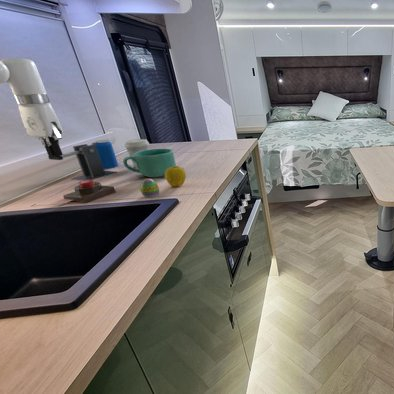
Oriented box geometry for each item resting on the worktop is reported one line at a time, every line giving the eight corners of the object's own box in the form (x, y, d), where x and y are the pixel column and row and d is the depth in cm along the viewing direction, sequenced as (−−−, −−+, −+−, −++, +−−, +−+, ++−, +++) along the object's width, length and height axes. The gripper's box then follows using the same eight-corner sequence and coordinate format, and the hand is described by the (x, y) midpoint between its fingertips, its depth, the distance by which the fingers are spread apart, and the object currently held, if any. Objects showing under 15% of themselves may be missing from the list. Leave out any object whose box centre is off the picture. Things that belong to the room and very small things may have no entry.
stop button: (86, 188, 91) (84, 183, 90) (77, 187, 92) (75, 182, 91) (97, 185, 94) (95, 179, 94) (89, 184, 95) (87, 179, 94)
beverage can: (103, 167, 127) (94, 140, 122) (121, 166, 129) (112, 139, 124) (97, 171, 121) (87, 143, 117) (116, 170, 123) (106, 142, 119)
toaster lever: (60, 161, 100) (57, 155, 99) (50, 161, 101) (47, 154, 100) (95, 152, 111) (93, 146, 110) (86, 152, 112) (83, 145, 111)
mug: (179, 169, 123) (173, 147, 120) (176, 177, 113) (170, 153, 109) (132, 174, 117) (125, 151, 113) (125, 183, 106) (117, 158, 103)
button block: (84, 204, 89) (79, 191, 88) (65, 201, 91) (60, 189, 89) (116, 192, 98) (112, 181, 97) (98, 190, 100) (94, 179, 98)
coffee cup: (130, 172, 120) (121, 143, 115) (133, 167, 127) (125, 140, 122) (154, 169, 124) (147, 141, 119) (156, 164, 131) (148, 138, 126)
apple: (171, 190, 99) (166, 168, 96) (165, 186, 103) (159, 164, 100) (191, 185, 104) (186, 164, 101) (184, 182, 107) (179, 161, 104)
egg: (143, 200, 91) (137, 182, 89) (142, 195, 95) (137, 178, 93) (161, 196, 94) (156, 179, 92) (159, 192, 98) (155, 175, 95)
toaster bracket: (89, 183, 108) (77, 149, 103) (71, 181, 110) (58, 148, 105) (118, 174, 117) (108, 143, 113) (101, 173, 120) (90, 142, 115)
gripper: (2, 101, 92) (27, 157, 99) (35, 101, 89) (59, 159, 96) (31, 99, 99) (53, 152, 106) (63, 99, 95) (83, 154, 102)
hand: (56, 155), depth 101 cm, fingers closed
